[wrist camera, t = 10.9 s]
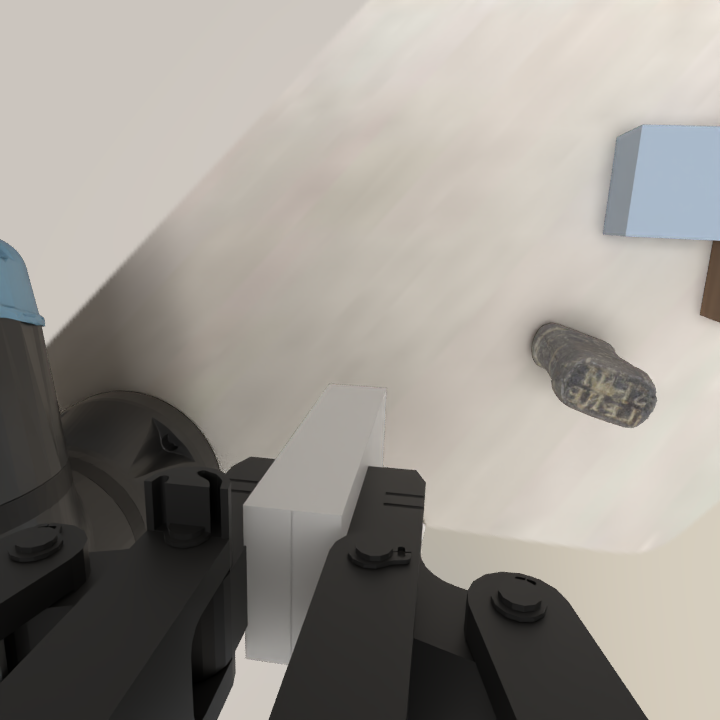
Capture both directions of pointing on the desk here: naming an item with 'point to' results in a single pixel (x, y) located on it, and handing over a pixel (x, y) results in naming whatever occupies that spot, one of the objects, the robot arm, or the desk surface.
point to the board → (712, 286)
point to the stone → (593, 376)
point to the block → (666, 183)
